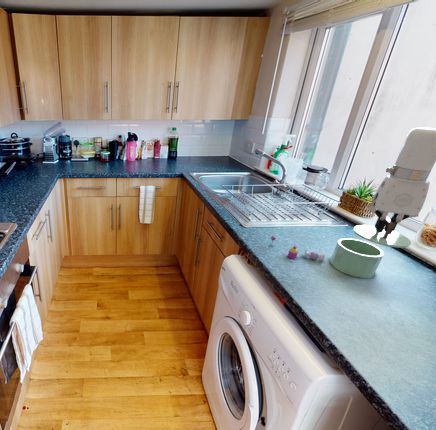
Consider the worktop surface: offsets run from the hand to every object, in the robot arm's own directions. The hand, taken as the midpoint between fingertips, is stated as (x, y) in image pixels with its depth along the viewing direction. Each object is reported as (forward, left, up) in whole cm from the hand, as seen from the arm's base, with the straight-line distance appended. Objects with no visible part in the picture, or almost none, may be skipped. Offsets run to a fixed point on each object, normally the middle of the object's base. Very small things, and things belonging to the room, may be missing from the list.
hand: (382, 231), depth 88 cm
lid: (0, 0, -2) cm, 2 cm away
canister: (0, -9, -19) cm, 21 cm away
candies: (+18, -10, -19) cm, 28 cm away
